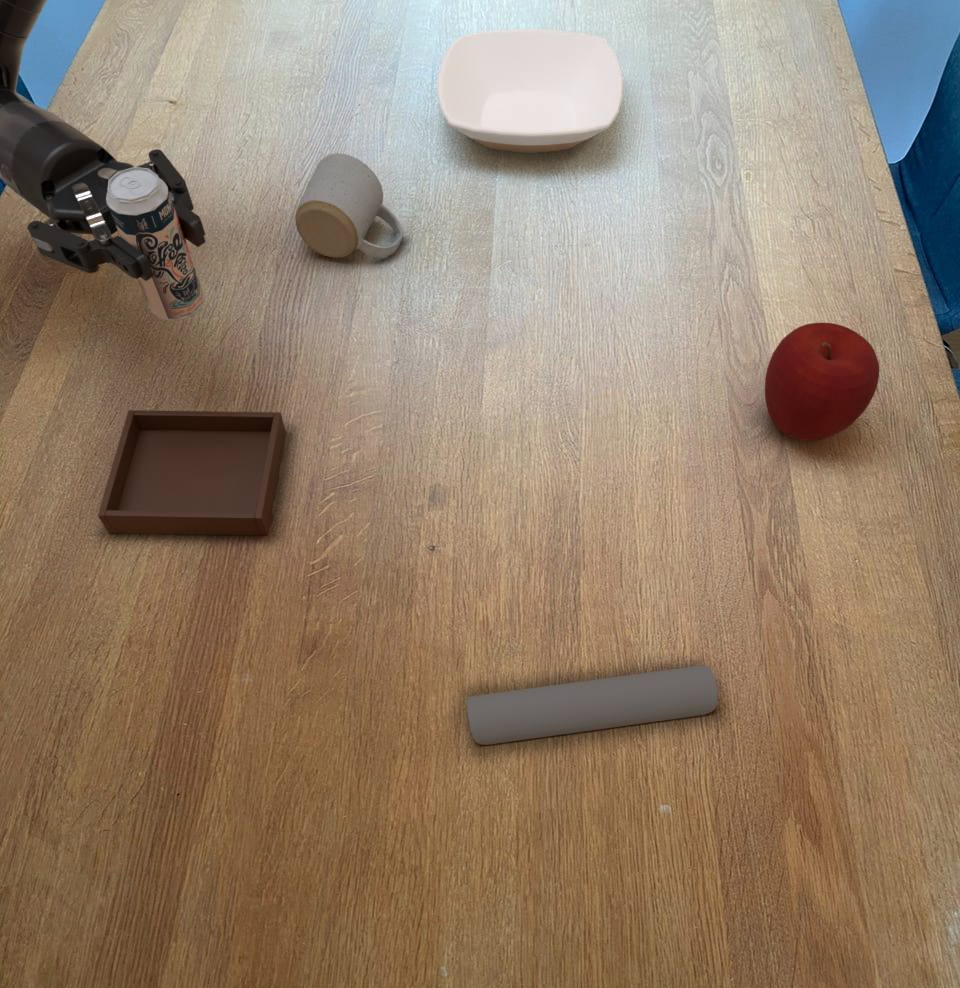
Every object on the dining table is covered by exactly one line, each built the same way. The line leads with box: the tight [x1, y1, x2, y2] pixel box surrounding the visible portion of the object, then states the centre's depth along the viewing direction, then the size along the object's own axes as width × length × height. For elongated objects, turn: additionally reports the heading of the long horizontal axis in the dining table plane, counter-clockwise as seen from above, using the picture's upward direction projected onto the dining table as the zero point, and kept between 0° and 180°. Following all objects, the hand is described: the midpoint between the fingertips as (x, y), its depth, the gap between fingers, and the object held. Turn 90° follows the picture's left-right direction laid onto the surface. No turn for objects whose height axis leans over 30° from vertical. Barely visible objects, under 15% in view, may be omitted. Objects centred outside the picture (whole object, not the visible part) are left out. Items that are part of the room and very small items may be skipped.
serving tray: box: [97, 409, 287, 537], centre depth 85 cm, size 14×12×3 cm
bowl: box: [437, 28, 624, 154], centre depth 112 cm, size 22×22×5 cm
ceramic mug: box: [294, 153, 404, 258], centre depth 100 cm, size 11×8×8 cm
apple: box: [764, 322, 880, 441], centre depth 85 cm, size 10×10×10 cm
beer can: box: [106, 166, 205, 321], centre depth 78 cm, size 5×5×12 cm
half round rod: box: [465, 664, 719, 746], centre depth 73 cm, size 4×20×2 cm, turn 98°
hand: (172, 252), depth 76 cm, fingers closed on beer can, 4 cm apart
